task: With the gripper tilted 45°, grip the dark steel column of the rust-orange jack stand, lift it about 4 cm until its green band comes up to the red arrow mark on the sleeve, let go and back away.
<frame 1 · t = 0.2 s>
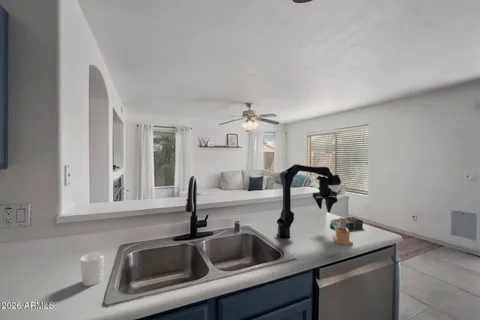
hand: (324, 210, 141), 14 cm above the counter, tool pointing down, fingers open, 9 cm apart
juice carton: (345, 228, 151), on the counter
jack stand column: (342, 228, 128), point 7 cm above the counter, slide at 0.0 cm
white cup: (93, 281, 88), on the counter
jack stand base: (342, 241, 128), on the counter
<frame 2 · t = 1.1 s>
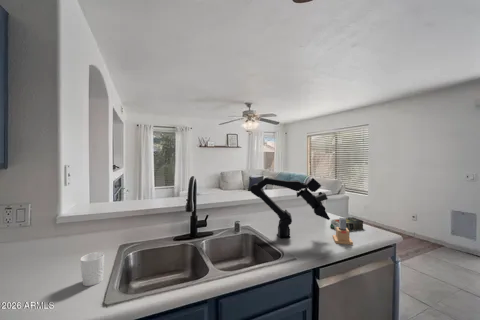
hand: (328, 217, 130), 13 cm above the counter, tool tilted 45°, fingers open, 9 cm apart
nothing on the counter moved.
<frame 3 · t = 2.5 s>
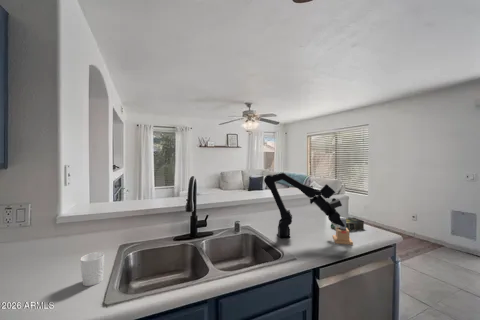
hand: (342, 223, 128), 10 cm above the counter, tool tilted 45°, fingers open, 9 cm apart
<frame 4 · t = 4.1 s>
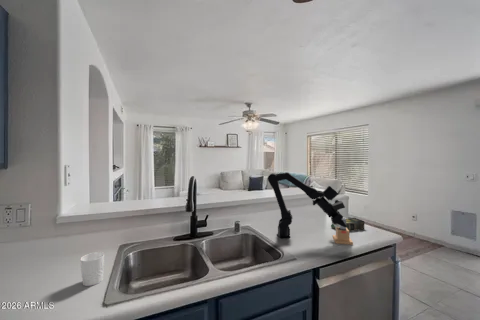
hand: (345, 225, 128), 9 cm above the counter, tool tilted 45°, fingers closed on jack stand column, 3 cm apart
jack stand column: (342, 228, 128), point 7 cm above the counter, slide at 0.0 cm, touching gripper
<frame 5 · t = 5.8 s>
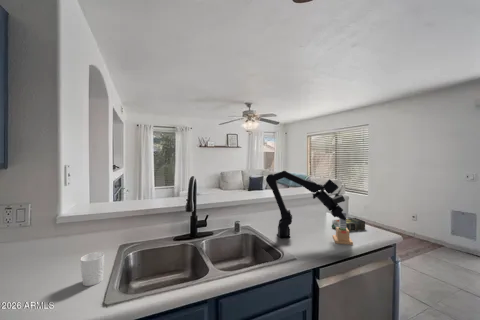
hand: (345, 219, 127), 13 cm above the counter, tool tilted 45°, fingers closed on jack stand column, 3 cm apart
jack stand column: (342, 222, 128), point 11 cm above the counter, slide at 3.7 cm, touching gripper
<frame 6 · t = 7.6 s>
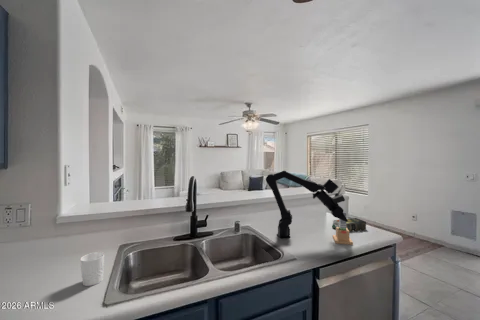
hand: (345, 218, 127), 13 cm above the counter, tool tilted 45°, fingers open, 9 cm apart
jack stand column: (342, 221, 128), point 11 cm above the counter, slide at 3.8 cm
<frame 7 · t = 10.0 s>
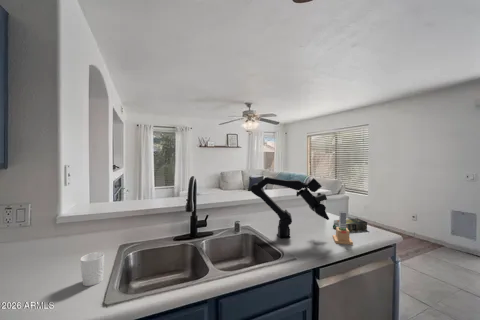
hand: (326, 217, 130), 13 cm above the counter, tool tilted 40°, fingers open, 9 cm apart
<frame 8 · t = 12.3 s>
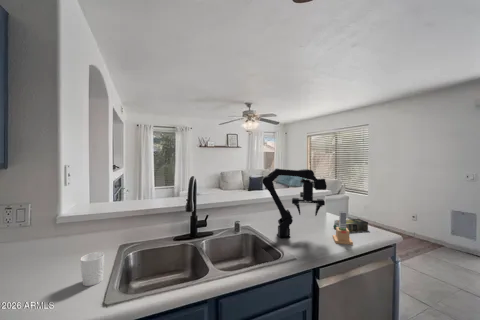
hand: (307, 215, 135), 13 cm above the counter, tool pointing down, fingers open, 9 cm apart
at the end: jack stand column slide at 3.8 cm; the gripper is holding nothing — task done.
